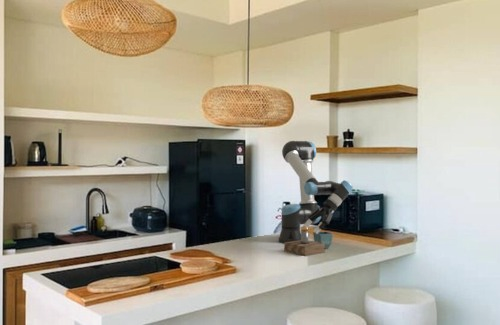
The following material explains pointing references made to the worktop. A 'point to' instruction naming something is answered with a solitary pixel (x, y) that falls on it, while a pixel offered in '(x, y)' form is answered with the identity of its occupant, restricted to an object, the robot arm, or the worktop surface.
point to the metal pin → (304, 235)
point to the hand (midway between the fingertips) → (309, 230)
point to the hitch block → (304, 248)
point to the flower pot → (323, 238)
